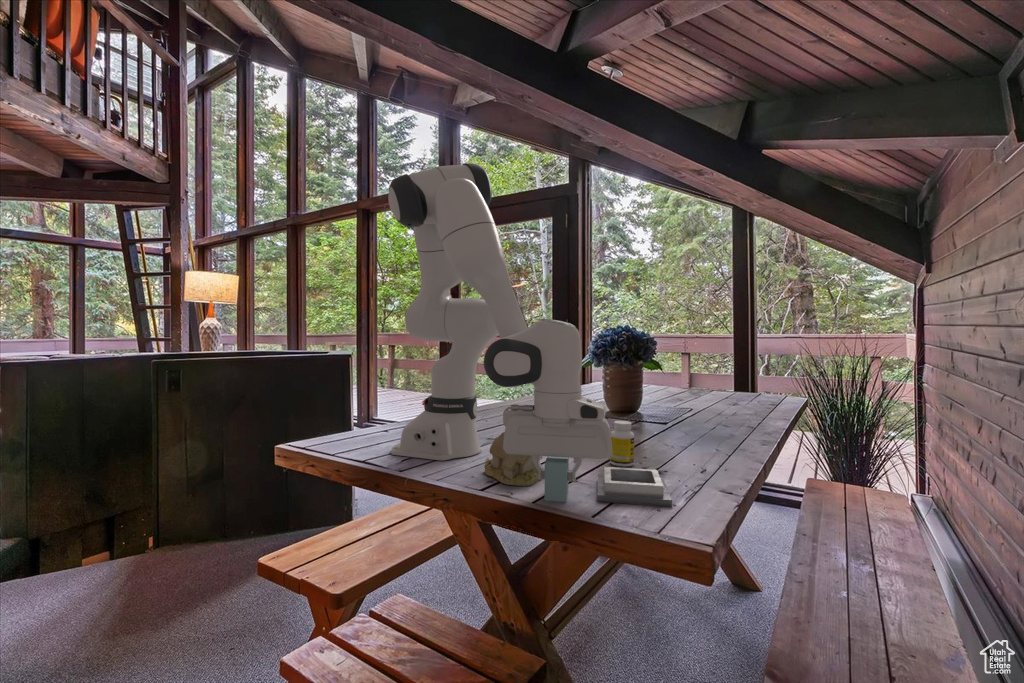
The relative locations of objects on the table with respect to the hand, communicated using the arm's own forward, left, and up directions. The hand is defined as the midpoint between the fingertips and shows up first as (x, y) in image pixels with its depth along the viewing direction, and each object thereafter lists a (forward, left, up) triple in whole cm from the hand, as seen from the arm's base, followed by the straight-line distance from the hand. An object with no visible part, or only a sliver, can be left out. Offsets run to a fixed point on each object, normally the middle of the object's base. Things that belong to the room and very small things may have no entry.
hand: (556, 479), depth 90 cm
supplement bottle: (+13, +25, -3) cm, 28 cm away
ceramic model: (-10, +11, -4) cm, 15 cm away
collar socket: (+14, +5, -3) cm, 15 cm away
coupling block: (0, 0, -3) cm, 3 cm away
